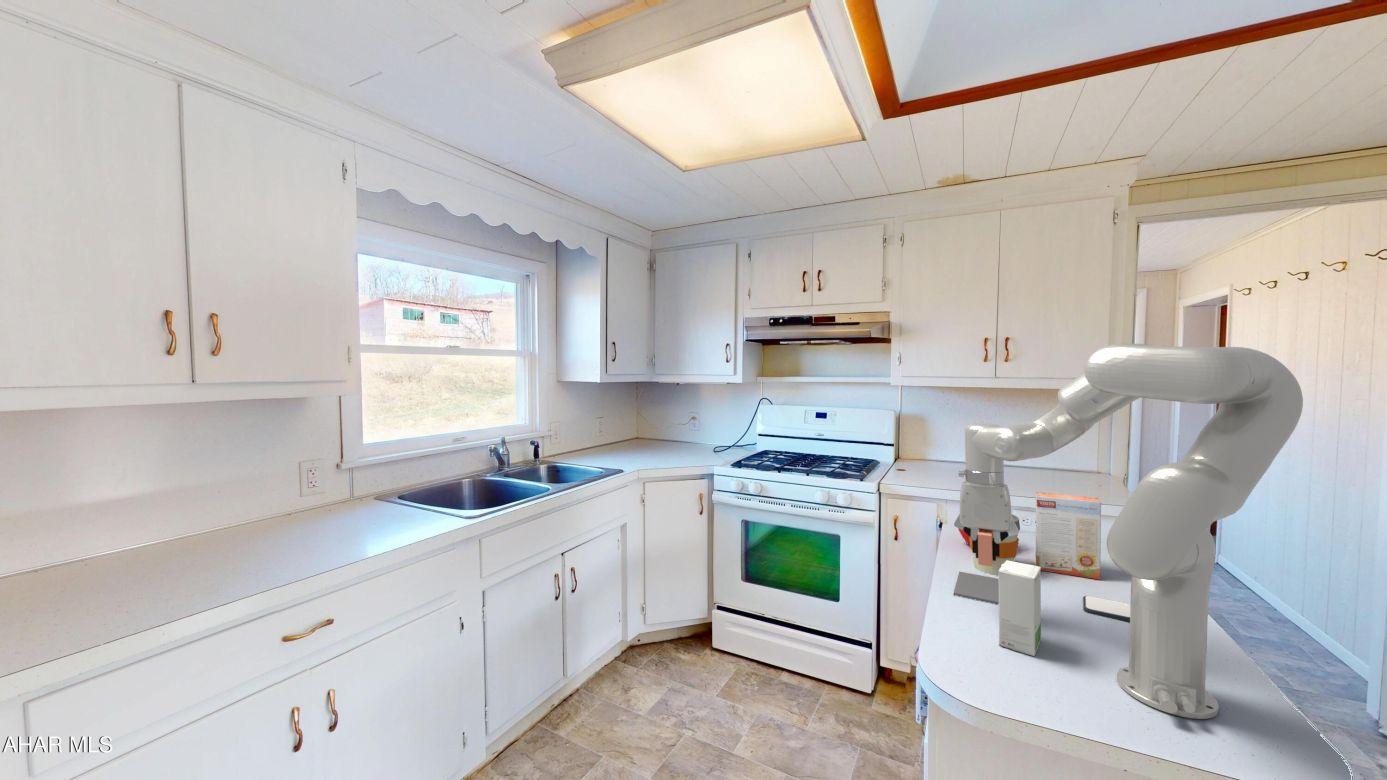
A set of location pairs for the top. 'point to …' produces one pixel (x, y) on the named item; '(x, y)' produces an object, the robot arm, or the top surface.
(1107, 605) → the smartphone
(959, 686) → the top surface
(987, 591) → the mat
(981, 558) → the card box
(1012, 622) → the skincare box
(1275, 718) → the top surface
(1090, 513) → the cracker box
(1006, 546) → the reusable coffee cup
